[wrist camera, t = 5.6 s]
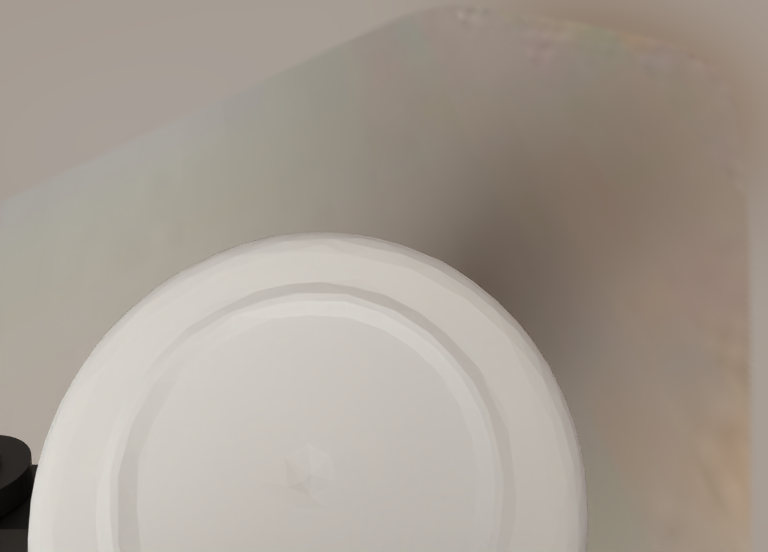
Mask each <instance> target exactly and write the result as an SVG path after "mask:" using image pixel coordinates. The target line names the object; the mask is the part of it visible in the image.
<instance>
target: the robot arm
mask: <svg viewBox="0 0 768 552" xmlns="http://www.w3.org/2000/svg"><path fill="white" fill-rule="evenodd" d="M37 467H38V465H32V459H31V451H30V449H29V447H28V446H27V445H26V444H25V443H24V442H23V441H21V440H19V439H17V438H14V437H10V436H4V435H0V552H28V530H29V518H30V505H31V497H32V492H33V486H34V481H35V476H36V471H37Z"/></svg>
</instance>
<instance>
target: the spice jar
mask: <svg viewBox="0 0 768 552" xmlns="http://www.w3.org/2000/svg"><path fill="white" fill-rule="evenodd" d="M587 535H588V503H587V490H586V478H585V472H584V465H583V458H582V452H581V448H580V444H579V440H578V436H577V432H576V428H575V425H574V423H573V419H572V416H571V413H570V410H569V408H568V405H567V403H566V400H565V398H564V396H563V394H562V391H561V389H560V387H559V385H558V383H557V381H556V379H555V377H554V375H553V373H552V371H551V369H550V367H549V365H548V364H547V362H546V361H545V359H544V358H543V356H542V355H541V353H540V351H539V350H538V348H537V347H536V345H535V344H534V342H533V341H532V339H531V338H530V337H529V335H528V334H527V333H526V332H525V331H524V329H523V328H522V327H521V326H520V324H519V323H518V322H517V321H516V320H515V319H514V318H513V317H512V316H511V315H510V314H509V313H508V312H507V310H506V309H505V308H504V307H503V306H502V305H501V304H500V303H499V302H498V301H497V300H496V299H494V298H493V297H492V296H491V295H489V294H488V293H487V292H486V291H484V290H483V289H482V288H481V287H479V286H478V285H477V284H476V283H474V282H473V281H472V280H470V279H469V278H468V277H466V276H465V275H463V274H462V273H460V272H459V271H457V270H456V269H454V268H452V267H451V266H449V265H448V264H446V263H444V262H443V261H441V260H438V259H436V258H433V257H431V256H428V255H426V254H423V253H421V252H419V251H416V250H414V249H411V248H409V247H406V246H404V245H401V244H398V243H394V242H390V241H386V240H382V239H378V238H374V237H368V236H363V235H356V234H348V233H334V232H306V233H295V234H286V235H278V236H272V237H267V238H263V239H259V240H255V241H252V242H248V243H245V244H241V245H238V246H235V247H232V248H230V249H227V250H224V251H222V252H219V253H217V254H215V255H213V256H211V257H208V258H206V259H204V260H202V261H200V262H198V263H196V264H194V265H191V266H189V267H187V268H185V269H183V270H182V271H180V272H179V273H177V274H176V275H174V276H173V277H171V278H169V279H168V280H166V281H165V282H163V283H162V284H160V285H159V286H157V287H156V288H155V289H154V290H153V291H151V292H150V293H149V294H148V295H147V296H145V297H144V298H143V299H142V300H140V301H139V302H138V303H137V304H136V305H134V306H133V307H132V308H131V309H130V310H129V311H128V312H127V313H126V314H125V315H124V316H123V317H122V318H121V319H120V320H119V321H118V322H117V323H116V324H115V325H114V326H113V327H112V328H111V329H110V330H109V331H108V332H107V333H106V335H105V336H104V337H103V338H102V339H101V340H100V342H99V343H98V344H97V345H96V346H95V348H94V349H93V351H92V352H91V354H90V355H89V357H88V358H87V360H86V361H85V363H84V364H83V366H82V367H81V369H80V370H79V372H78V373H77V375H76V376H75V378H74V380H73V381H72V383H71V385H70V387H69V389H68V390H67V392H66V394H65V396H64V398H63V399H62V401H61V403H60V405H59V408H58V410H57V412H56V415H55V417H54V420H53V422H52V425H51V427H50V430H49V432H48V435H47V437H46V440H45V443H44V446H43V450H42V453H41V457H40V460H39V464H38V467H37V471H36V476H35V481H34V486H33V492H32V497H31V505H30V518H29V530H28V552H586V547H587Z"/></svg>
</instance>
